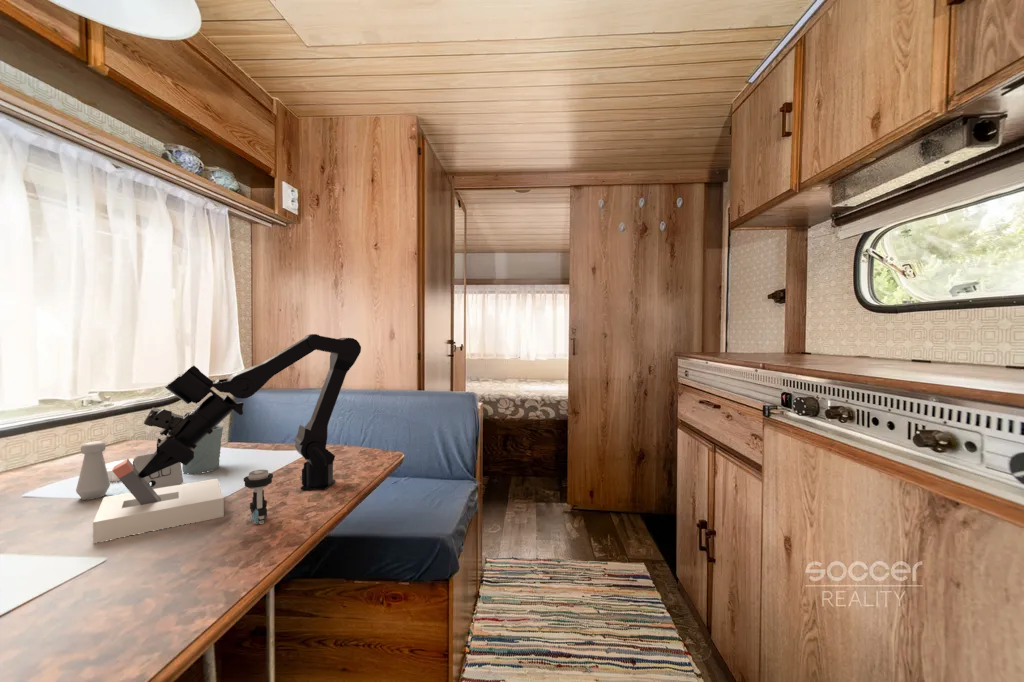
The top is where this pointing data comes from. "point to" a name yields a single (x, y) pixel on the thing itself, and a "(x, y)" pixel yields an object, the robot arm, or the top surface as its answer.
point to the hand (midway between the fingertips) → (140, 476)
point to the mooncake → (110, 467)
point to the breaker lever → (135, 483)
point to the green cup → (206, 453)
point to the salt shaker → (93, 472)
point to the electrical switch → (160, 473)
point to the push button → (258, 493)
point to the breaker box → (158, 510)
